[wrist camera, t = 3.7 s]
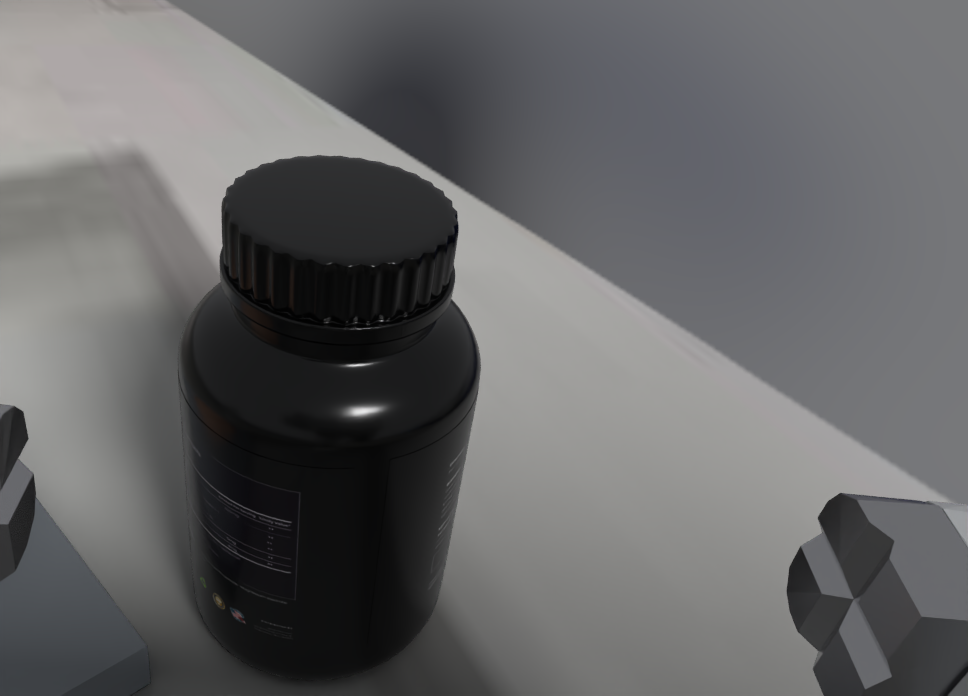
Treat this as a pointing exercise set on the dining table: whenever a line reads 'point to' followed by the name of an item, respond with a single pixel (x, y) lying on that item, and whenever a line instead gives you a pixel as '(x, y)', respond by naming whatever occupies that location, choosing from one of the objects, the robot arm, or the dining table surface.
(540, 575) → the dining table surface
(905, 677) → the robot arm
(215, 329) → the supplement bottle
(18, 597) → the mat
